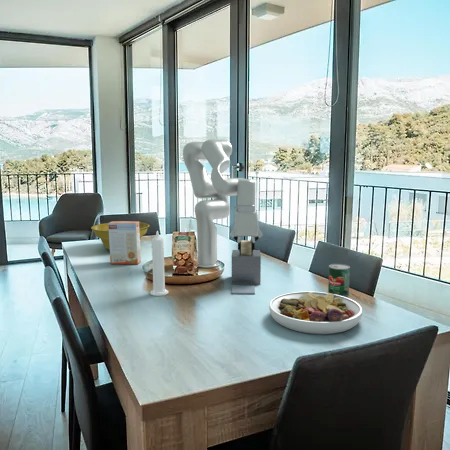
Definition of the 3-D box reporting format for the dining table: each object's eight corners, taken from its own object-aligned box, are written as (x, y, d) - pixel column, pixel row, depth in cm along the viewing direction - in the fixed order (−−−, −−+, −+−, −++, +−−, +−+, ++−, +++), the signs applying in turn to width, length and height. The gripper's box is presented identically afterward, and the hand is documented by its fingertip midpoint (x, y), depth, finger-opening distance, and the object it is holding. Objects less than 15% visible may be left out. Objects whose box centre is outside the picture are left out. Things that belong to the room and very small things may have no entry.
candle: (164, 296, 174) (163, 232, 170) (147, 295, 176) (145, 232, 172) (170, 291, 181) (169, 229, 177) (153, 290, 183) (151, 228, 178)
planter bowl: (102, 243, 275) (101, 221, 272) (155, 243, 273) (154, 221, 271) (83, 255, 243) (82, 230, 241) (143, 255, 242) (142, 230, 239)
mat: (231, 294, 177) (231, 292, 177) (232, 287, 186) (232, 285, 186) (254, 294, 176) (254, 292, 176) (254, 287, 185) (254, 285, 185)
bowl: (254, 310, 160) (254, 289, 158) (327, 300, 170) (328, 280, 169) (297, 344, 132) (297, 318, 131) (381, 329, 142) (382, 305, 141)
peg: (240, 265, 192) (240, 242, 190) (241, 263, 197) (241, 240, 195) (251, 265, 192) (251, 242, 190) (251, 263, 196) (251, 240, 195)
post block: (231, 284, 190) (231, 256, 188) (232, 276, 202) (232, 249, 200) (260, 284, 189) (260, 256, 187) (259, 276, 201) (259, 250, 199)
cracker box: (141, 261, 228) (139, 220, 225) (137, 264, 222) (136, 222, 219) (114, 261, 230) (112, 220, 226) (110, 264, 224) (108, 222, 220)
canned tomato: (349, 291, 180) (350, 264, 178) (348, 297, 172) (350, 269, 170) (328, 289, 182) (329, 263, 180) (327, 296, 174) (328, 268, 172)
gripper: (225, 210, 187) (225, 253, 190) (266, 210, 186) (266, 253, 189) (226, 207, 194) (226, 249, 197) (266, 207, 194) (265, 249, 197)
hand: (246, 251), depth 193 cm, fingers closed on peg, 4 cm apart
